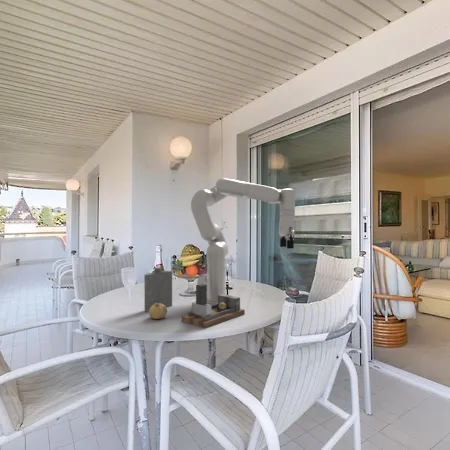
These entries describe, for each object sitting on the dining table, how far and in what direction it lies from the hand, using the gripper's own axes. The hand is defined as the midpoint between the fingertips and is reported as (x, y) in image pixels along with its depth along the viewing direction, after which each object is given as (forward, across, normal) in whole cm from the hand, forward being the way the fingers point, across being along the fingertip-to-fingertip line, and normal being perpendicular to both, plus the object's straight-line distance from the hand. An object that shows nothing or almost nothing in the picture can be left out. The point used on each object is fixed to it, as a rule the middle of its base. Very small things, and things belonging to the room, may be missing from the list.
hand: (286, 247), depth 162 cm
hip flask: (+31, -6, -63) cm, 71 cm away
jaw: (+27, +18, -45) cm, 55 cm away
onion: (+31, +10, -63) cm, 71 cm away
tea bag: (+31, -41, -38) cm, 64 cm away
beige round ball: (+26, +10, -34) cm, 44 cm away
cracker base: (+30, +13, -38) cm, 50 cm away
